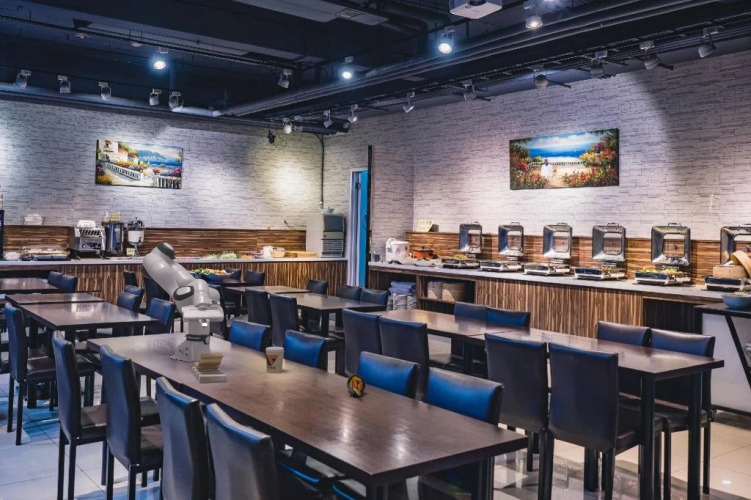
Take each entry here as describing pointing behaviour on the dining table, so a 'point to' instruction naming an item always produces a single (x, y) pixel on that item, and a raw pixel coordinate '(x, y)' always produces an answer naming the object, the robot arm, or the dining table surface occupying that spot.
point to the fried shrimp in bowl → (356, 385)
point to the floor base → (208, 375)
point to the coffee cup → (274, 359)
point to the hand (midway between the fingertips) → (204, 327)
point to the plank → (209, 361)
